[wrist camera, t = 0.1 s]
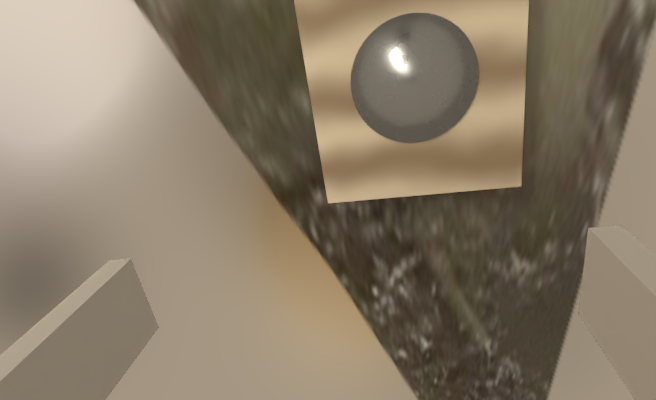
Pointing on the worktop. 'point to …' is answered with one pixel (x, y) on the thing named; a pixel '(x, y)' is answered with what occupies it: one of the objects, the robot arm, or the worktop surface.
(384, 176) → the birch stand
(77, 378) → the robot arm
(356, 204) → the worktop surface
